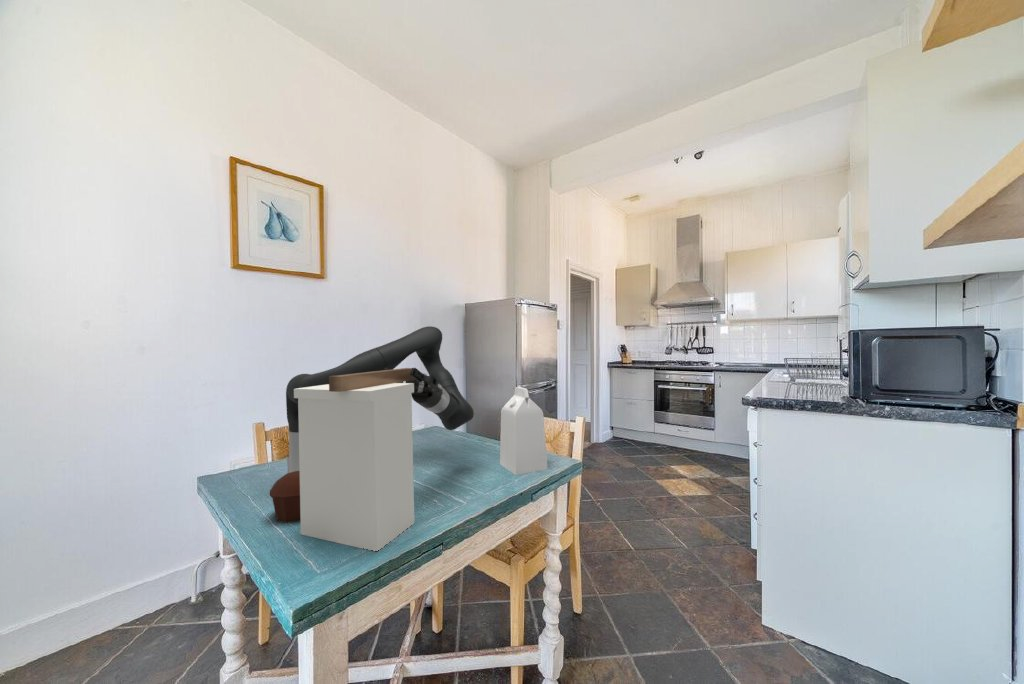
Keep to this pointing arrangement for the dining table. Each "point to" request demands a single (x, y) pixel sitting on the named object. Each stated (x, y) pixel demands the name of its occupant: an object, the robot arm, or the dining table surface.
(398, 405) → the tall stand
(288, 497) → the muffin
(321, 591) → the dining table surface
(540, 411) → the milk
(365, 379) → the walnut handle
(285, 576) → the dining table surface
